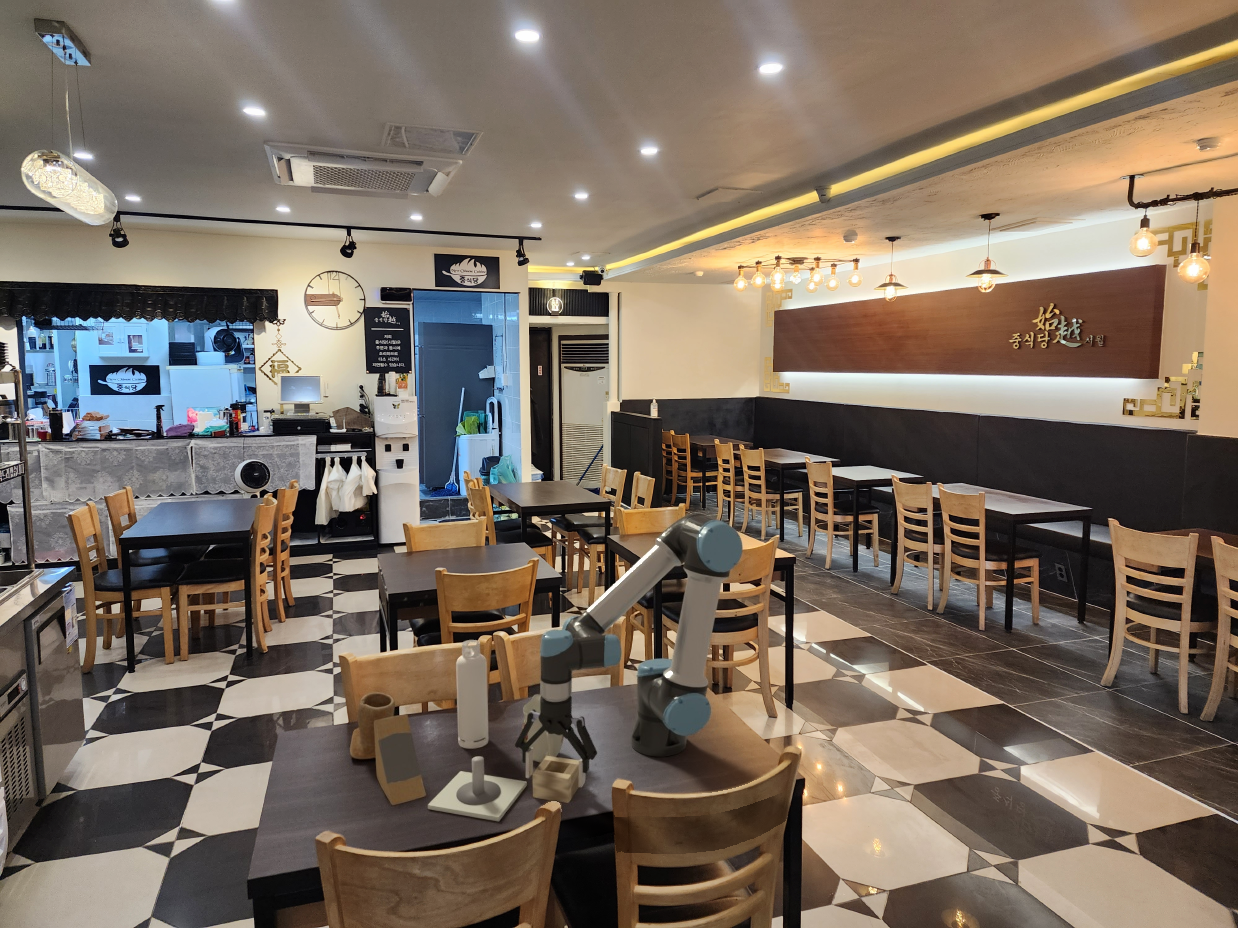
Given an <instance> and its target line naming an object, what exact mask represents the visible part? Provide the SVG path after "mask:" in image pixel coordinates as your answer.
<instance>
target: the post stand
mask: <svg viewBox="0 0 1238 928" xmlns="http://www.w3.org/2000/svg"><path fill="white" fill-rule="evenodd" d="M484 759H485V758H484V757H483V756H474V757H473V758H471V772H469V771H459V772H458V773H457V774H456V775H455V776H454V777H453V778H452V779H451V780H450V781H449V783H447V784H446V786H444V787H443V789H442V790H441V791H440V792H438V793H437V795H436V796H435V797H434V798H433V799H432V800H431V801H430V802H429V803H428V804H427V809H428V810H432V811H437V812H444V813H448V814H449V813H450V814H455V815H459V816H467V817H472V818H477V819H483V820H488V821H493V822H494V821H495V822H500V821H501V819H502V818H503V817H504V816H505V814H506V812H508V810H509V809H510V808H511V806H512V805H513V804H514V803H515V801H516V800H517V799H518V798H519V796H520V795H521V794H522V793H523V791H524V790H525V788H526V787H527V786H528V783H527V782H528V781H526V780H525V781H524V780H520V779H519V780H518V779H514V778H513V779H512V778H506V777H501V776H495V775H494V776H493V775H487V774H485V760H484Z"/></svg>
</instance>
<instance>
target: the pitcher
mask: <svg viewBox="0 0 1238 928" xmlns="http://www.w3.org/2000/svg"><path fill="white" fill-rule="evenodd" d="M540 697H541V695H540V693H539V694H538V693H537V694H534V695H533V696H532V698H531V700H529V702H527V703H526V704H525V705H524V706H523V708H522V712H523V716H524V720H523V723H522V726H521V727H522V730H523V728H524V726H525V724H526V722H527V716H528V714H529V713H530V712H531V711H532V710H533V709H534V710H535V711H536V712H537V713H540ZM541 727H542V724H541V722H540V721H539V719H537V720H536V721H535V722H534V723H533V725H532V726H531V728H530V730H529V732H528V734H527V736H526V738H525V740H524V742H527V741H528V740H529V739H530V738H531V737H532V736H533V735H534V734H535V733H536V732H537V731H538V730H539V729H540V728H541ZM522 730H521V731H522ZM564 740H565V737H564V736H563V735H556V734H548V732H547V731H546V730H545V731H544V732H543V733H542V734H541V735H540V736H539V737H538V739H537V740H536V741H535V742H534V743H533V744H532V745H531V746H530V747H531V748H533V762H537V763H541V762H542V761H543V760H544V758H545V757H546V756H553V757H557V756H558V755H559V754H560V752H561V749H562V746H563V743H564ZM530 747H529V748H530Z"/></svg>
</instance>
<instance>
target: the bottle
mask: <svg viewBox="0 0 1238 928" xmlns="http://www.w3.org/2000/svg"><path fill="white" fill-rule="evenodd" d="M470 643H476V644H475V645H469V644H470ZM461 654H462V655H460V656H459V657H458V658H457V660H456V662H455V669H456V671H455V672H456V673H455V674H456V675H455V676H456V702H457V704H456V705H457V707H456V709H457V711H456V712H457V734H458V737H457V739H458V742H457V743H458V746H460V747H461V748H463V749H469V750H470V749H471V750H472V749H473V750H474V749H478V748H482V747H484V746H486V745H487V744H488V743H489V709H488V708H489V707H488V704H489V703H488V702H489V701H488V664H487V663H488V662H487V659H486V657H485V655H483V654H482V653H481V643H480V640H476V639H475V640H474V639H469V640H464V641H463V642H462V643H461Z"/></svg>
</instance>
